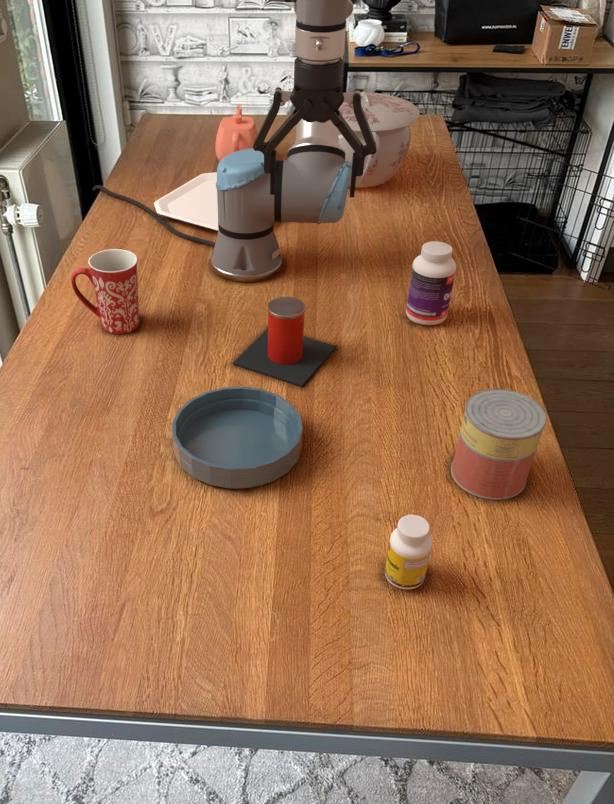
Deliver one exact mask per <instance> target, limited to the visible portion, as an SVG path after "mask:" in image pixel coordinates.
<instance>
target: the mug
mask: <svg viewBox="0 0 614 804" xmlns="http://www.w3.org/2000/svg"><path fill="white" fill-rule="evenodd" d="M138 259H139V258H138V256H137V254H135V253H134V252H132V251H130V250H127V249H121V248H109V249H104V250H100V251H97V252H95V253H93V254H92V255H91V256H90V257H89V258H88V261H87V263H88V266H89V268H88V267H78V268H76V269H74V270H73V272H72V273H71V276H70V277H71V278H70V281H71V288H72V290H73V292H74V294H75V295H76V298H77V299H79V301H80V302H81V303H82V304H83V305H84V306H85V307H86V308H87V309H88V310H90V312H92V313H93V314H94V315H95V316H96V317H98V318H99V319H100V323H101V327H102V329H103V330H104V331H105V332H108V333H110V334H114V335H123V334H128V333H131V332H134V331H135V330H136V329H138V327H139V326H140V303H139V302H140V301H139V278H138V262H139V260H138ZM80 275H84V276H86V277H87V278H88V279H89V281H90V283H91V285H93V288H94V293H95V298H96V303H97V305H95V304H93V303H92V302H91V301H89V299H88V298H87V297H86V296H85V295H84V294H83V293H82V292H81V291H80V289H79V288H78V285H77V282H76V280H77V277H78V276H80Z"/></svg>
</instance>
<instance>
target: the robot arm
mask: <svg viewBox="0 0 614 804" xmlns="http://www.w3.org/2000/svg"><path fill="white" fill-rule="evenodd" d="M269 1H270V2H275V3H276V2H277V3H294V4H293V9H294V10H293V11H294V13H295V15H296V19H295V35H294V37H295V38H294V40H295V41H294V54H295V56H296V58H295V59H294V66H293V67H294V68H293V88H292V90H291V91H288V90H283V89H282V88H281V87H280V86H278V87H275V89H274V93H273V98H272V103H271V106H270V107H269V110H268V112H267V113H266V115H265V118H264V120H263V122H262V124H261V126H260V128H259V130H258V131H257V132H258V134H257V136H256V138H255V140H254V144H253V148H250V149H244V150H240V151H236V152H233V153H231V154H229V155H227V156H226V157H224V158H223V159H222V160H221V161H220V162H219V161H218V162H219V163H217V167H216V172H217V182H216V188H217V201H218V232H217V235H216V238H215V241H212V240H208V239H204V238H200V237H197V236H192V235H190V234H186V233H183V232H181V231H179V230H177V229H175V228H174V227H172V225H170V224H169V223H168V222H167V221H166V220H164V219H163V218H162V217H161V216H160V215H158V214H157V212H156V211H154V210H152V209H151V208H149V207H148V206H146V205H145V204H143V203H141V202H139V201H137V200H135V199H133V198H131V197H128V196H126V195H123V194H120V193H116V192H113V191H111V190H110V189H107V188H106V187H104V186H103V185H100V184H97V185H94V186H93V188H92V191H93V192H95V191H98V190H100V191H102V192H103V193H105V194H106V195H109V196H110V197H113V198H115V199H119V200H123V201H126V202H128V203H131V204H132V205H135V206H136V207H138V208H140V209H142V210H143V211H145V212H146V213H147V214H149V215H150V216H151V217H153V218H154V219H155V220H156V221H157V222H158V223H160V224H161V225H162V226H164V227H165V228H166V229H167V230H168V231H169V232H171V233H172V234H174V235H175V236H178V237H180V238H183V239H185V240H187V241H192V242H196V243H199V244H203V245H206V246H211V247H213V250H212V252H211V255H210V268H211V270H212V272H213V273H214V274H216V275H217V276H219V277H220V278H222V279H225V280H228V281H233V282H237V283H253V282H260V281H265V280H267V279H270V278H272V277H274V276H276V275H277V274H278V273H280V271H281V270H282V266H283V256H282V252H281V247H280V245H279V242H278V239H277V236H276V232H275V223H296V224H297V223H298V224H299V223H301V224H316V225H321V224H337V223H338V222H340V221H341V220H342V219H343V216H344V213H345V207H346V202H347V197H348V193H349V198H355V194H356V188H355V184H356V176H362V175H363V171H364V160H365V157H366V156H367V155H370V154H372V155H374V154H375V153H376V151H377V148H376V142H375V139H374V137H373V134H372V132H371V129H370V126H369V124H368V121H367V119H366V116H365V113H364V111H363V108H362V105H361V92H362V91H361V90H360V89H359V88H356V89H354V90H353V91H351V92H350V91H349V93H347V92H344V91H343V88H342V87H343V76H344V55H345V47H346V36H347V35H346V33H347V19H348V18H349V17H350V16H351V15H353V12H354V5H356V4H359V3H360V2H361V0H269ZM288 101H290V103H291V104H292V106H293V108H294V109H293V110H292V112H291V113H290V114H289V116H288V117H287V118H286V119H285V121H284V122H283V123H281V124H280V126H279V127H278V129H277V130H276V131H275V132H274V133H273V134H272V136H270V137H269V139H268V140H267V141H266V138H267V136H268V134H269V132H270V130H271V128H272V126H273V124H274V122H275V121H276V118H277V115H278V114H279V111H280V108H281V107H284V106H286V103H288ZM343 102H347V103H348V106H349V107H350V108H353V109H354V114H355V117H356V119H357V122H358V124H359V127H360V130H361V132H362V135H363V137H364V140H365V142H366V145H363V144H362V143H361V141H360V140H359V138H358V137H357V136H356V134H355V133H354V132H353V130H352V129H351V127H350V126H349V125H348V123H347V122H346V121H345V119H344V118H343V116H342V114H341V113H340V106H341V105H342V104H343ZM294 128H295V141H294V144H292V145H291V146H290V147H289V148H288V149H287V153H286V159H277V150H276V148H277V147H278V146H279V145H280V144H281V142H282V141H284V140H285V138H286V137H287V135H289V133H290V132H291V131H292V130H293V129H294ZM339 131H340V133H341V134H342V135H343V137H344V138H345V139H346V141H347V142H348V143H349V145H350V146H351V148H352V149H353V150H354V152H353V160H352V163H351V162H349V161H346V162H345V151H344V149H343V148H342V147H341V146H340V145H339V143H338V141H339ZM351 169H352V171H351ZM350 175H351V183H350V187H348V186H349V181H350ZM348 191H349V192H348Z"/></svg>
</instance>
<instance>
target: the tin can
mask: <svg viewBox="0 0 614 804" xmlns="http://www.w3.org/2000/svg"><path fill="white" fill-rule="evenodd" d="M305 314H306V304H305V303H304V301H303V300H301V299H299V298H297V297H292V296H280V297H275V298H273V299H271V300H270V301H269V302H268V303H267V329H268V357H269V359H270V360H271V361H273V362H275V363H278V364H284V365H287V364H293V363H296V362H298V361H299V360H300V359H301V358H302V356H303V337H305V335H304V334H305V318H306V317H305V316H306V315H305Z"/></svg>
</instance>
